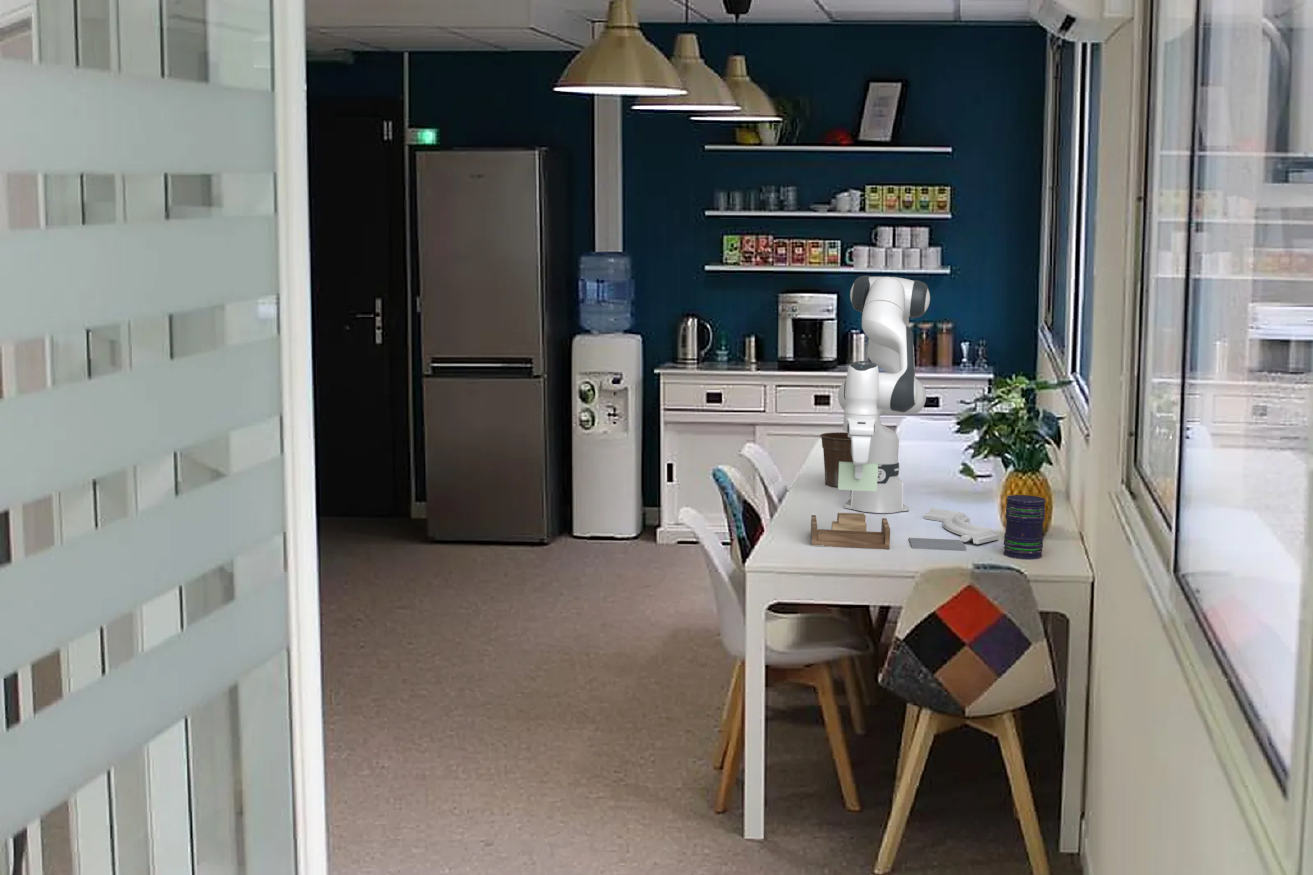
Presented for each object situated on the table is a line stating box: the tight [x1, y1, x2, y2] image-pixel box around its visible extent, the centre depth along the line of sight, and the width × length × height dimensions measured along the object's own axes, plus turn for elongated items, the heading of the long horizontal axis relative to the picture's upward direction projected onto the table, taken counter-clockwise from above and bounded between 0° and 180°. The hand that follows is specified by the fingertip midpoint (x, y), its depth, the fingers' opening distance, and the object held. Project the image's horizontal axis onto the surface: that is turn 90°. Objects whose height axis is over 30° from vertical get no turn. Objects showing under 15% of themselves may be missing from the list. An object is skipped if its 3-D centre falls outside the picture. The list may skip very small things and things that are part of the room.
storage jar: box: [1003, 494, 1046, 561], centre depth 416 cm, size 10×10×15 cm
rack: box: [810, 514, 891, 550], centre depth 428 cm, size 16×20×5 cm
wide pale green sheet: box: [837, 462, 878, 491], centre depth 422 cm, size 2×10×7 cm, turn 85°
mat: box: [908, 537, 967, 551], centre depth 427 cm, size 11×14×1 cm
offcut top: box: [836, 512, 867, 525], centre depth 432 cm, size 4×7×2 cm, turn 90°
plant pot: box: [819, 431, 853, 488], centre depth 518 cm, size 16×16×16 cm
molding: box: [924, 507, 1000, 545], centre depth 448 cm, size 42×12×3 cm, turn 6°
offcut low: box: [831, 520, 868, 531], centre depth 433 cm, size 4×9×3 cm, turn 86°
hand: (857, 477), depth 422 cm, fingers closed on wide pale green sheet, 2 cm apart
